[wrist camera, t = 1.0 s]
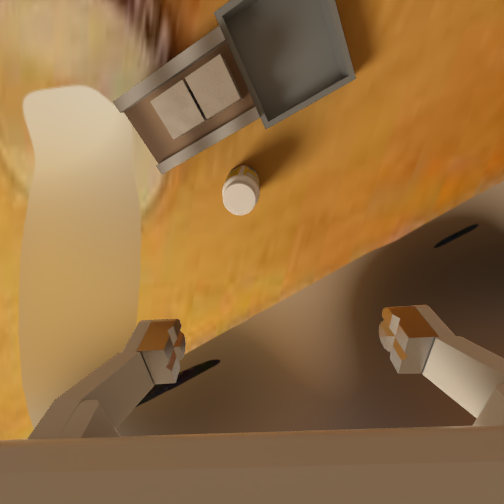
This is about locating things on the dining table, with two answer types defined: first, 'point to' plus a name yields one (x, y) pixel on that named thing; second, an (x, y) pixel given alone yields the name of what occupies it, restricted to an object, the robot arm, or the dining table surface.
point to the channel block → (167, 76)
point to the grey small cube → (179, 110)
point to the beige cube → (214, 87)
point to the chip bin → (286, 52)
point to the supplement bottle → (241, 190)
